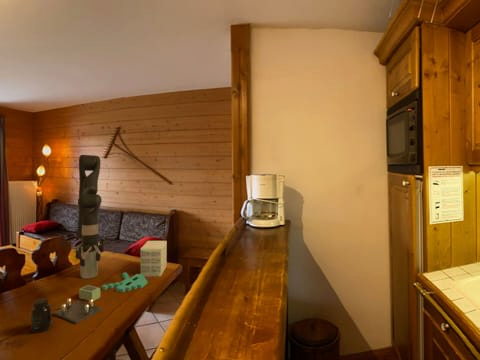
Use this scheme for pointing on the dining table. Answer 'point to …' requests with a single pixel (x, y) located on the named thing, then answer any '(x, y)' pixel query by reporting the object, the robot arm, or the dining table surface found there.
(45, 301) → the supplement bottle
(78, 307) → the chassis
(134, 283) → the alien figure
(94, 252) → the robot arm
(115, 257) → the dining table surface
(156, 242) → the supplement box
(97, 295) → the block
